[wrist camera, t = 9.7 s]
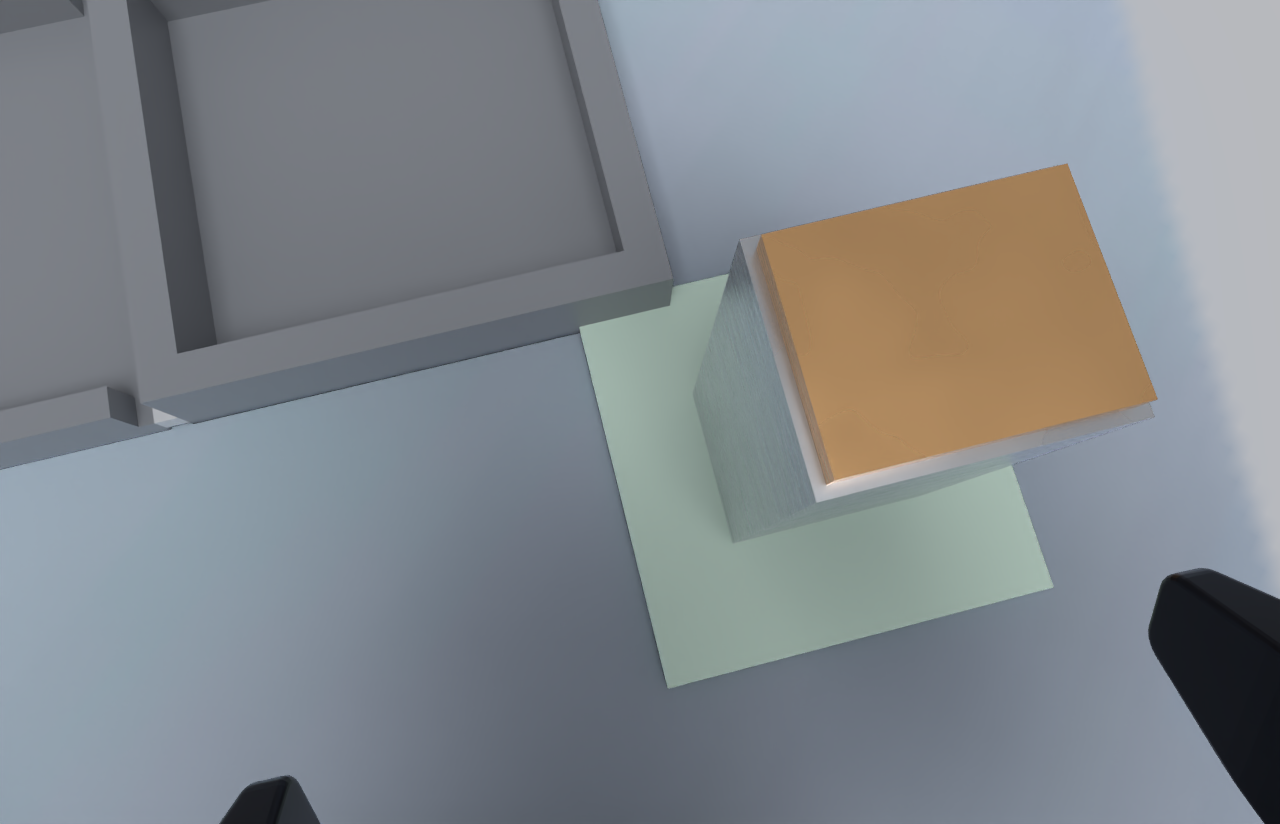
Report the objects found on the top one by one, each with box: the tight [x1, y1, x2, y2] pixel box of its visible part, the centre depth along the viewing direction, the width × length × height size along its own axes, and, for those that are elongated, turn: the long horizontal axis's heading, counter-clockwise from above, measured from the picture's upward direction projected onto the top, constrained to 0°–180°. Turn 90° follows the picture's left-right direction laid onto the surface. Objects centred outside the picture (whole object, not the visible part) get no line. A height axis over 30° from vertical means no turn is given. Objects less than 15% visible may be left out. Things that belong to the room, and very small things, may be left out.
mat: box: [579, 274, 1054, 689], centre depth 22 cm, size 10×10×1 cm
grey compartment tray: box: [0, 0, 673, 469], centre depth 23 cm, size 13×27×2 cm, turn 104°
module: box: [693, 164, 1157, 543], centre depth 17 cm, size 4×5×10 cm
